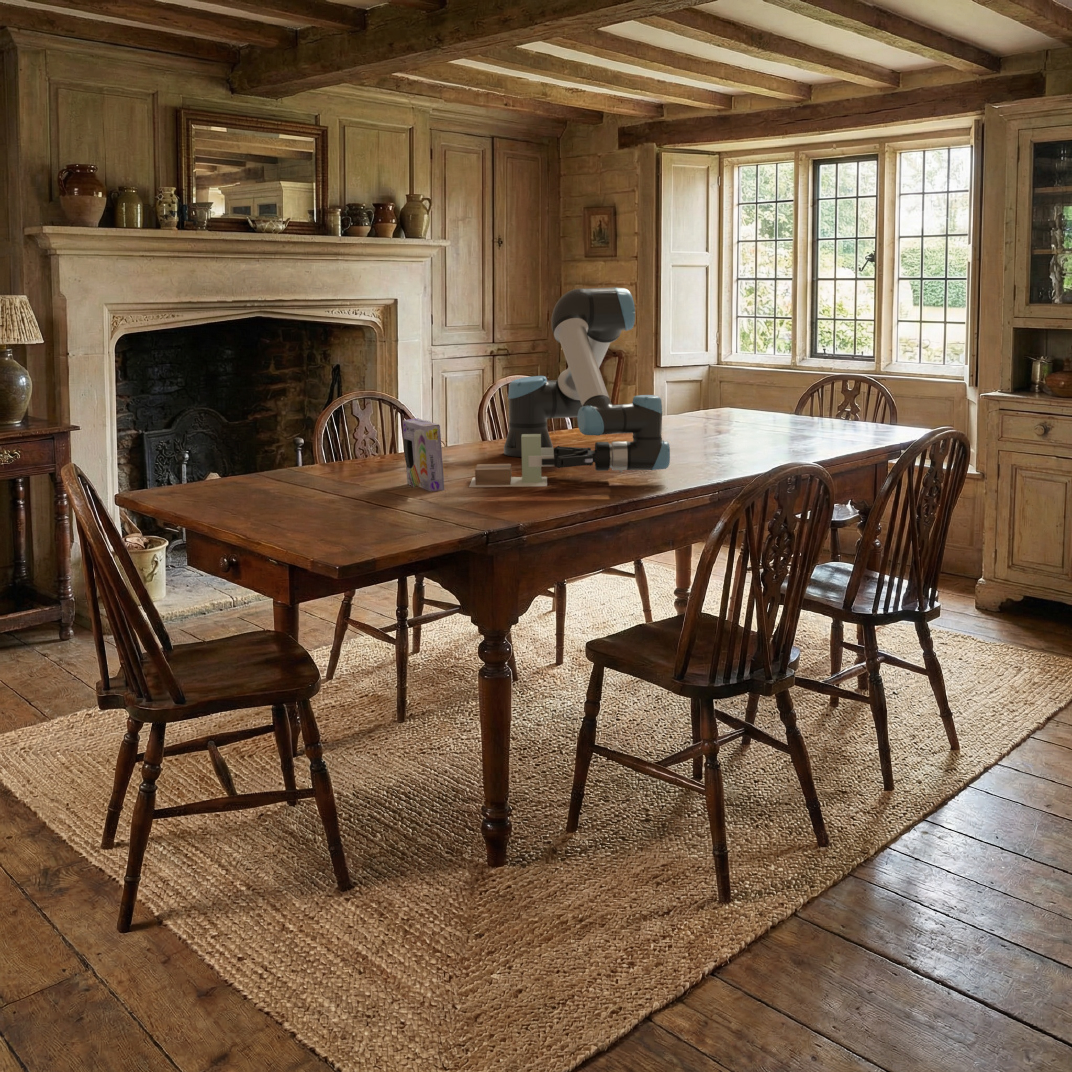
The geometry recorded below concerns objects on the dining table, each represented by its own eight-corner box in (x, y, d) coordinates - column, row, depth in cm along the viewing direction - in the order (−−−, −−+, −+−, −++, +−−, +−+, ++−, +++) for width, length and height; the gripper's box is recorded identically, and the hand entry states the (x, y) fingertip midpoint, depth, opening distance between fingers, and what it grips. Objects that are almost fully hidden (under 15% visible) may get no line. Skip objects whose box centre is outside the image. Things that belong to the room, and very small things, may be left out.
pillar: (522, 479, 308) (521, 434, 305) (541, 478, 308) (540, 434, 305) (522, 482, 303) (521, 436, 301) (541, 482, 303) (540, 436, 301)
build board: (472, 481, 312) (472, 477, 312) (547, 480, 312) (547, 476, 311) (469, 490, 298) (469, 486, 298) (546, 489, 298) (546, 486, 298)
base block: (477, 479, 309) (477, 464, 308) (511, 478, 309) (511, 463, 308) (475, 485, 301) (475, 469, 300) (510, 484, 300) (509, 469, 300)
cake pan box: (403, 483, 310) (401, 417, 306) (421, 482, 312) (419, 416, 308) (426, 495, 293) (424, 425, 289) (445, 493, 295) (443, 424, 291)
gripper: (612, 478, 292) (528, 479, 293) (607, 462, 317) (529, 463, 317) (612, 449, 291) (528, 450, 291) (607, 435, 315) (529, 436, 315)
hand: (528, 457), depth 304 cm, fingers open, 13 cm apart
